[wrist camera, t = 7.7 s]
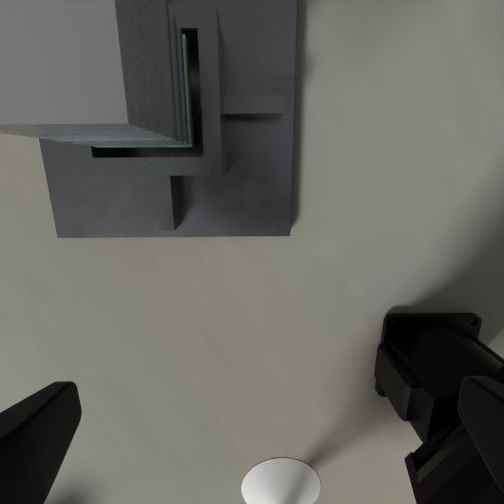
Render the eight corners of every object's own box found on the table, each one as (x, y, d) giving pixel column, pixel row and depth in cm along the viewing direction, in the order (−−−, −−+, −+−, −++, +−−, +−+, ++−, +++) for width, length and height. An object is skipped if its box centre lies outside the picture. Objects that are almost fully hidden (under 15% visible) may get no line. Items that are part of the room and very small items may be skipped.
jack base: (295, -37, 15) (313, -116, 11) (288, 232, 19) (299, 252, 15) (18, -37, 15) (-73, -117, 11) (67, 234, 19) (14, 254, 15)
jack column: (189, 43, 13) (104, -131, 5) (195, 147, 14) (132, 127, 6) (90, 43, 13) (-140, -132, 5) (104, 148, 14) (-67, 128, 6)
